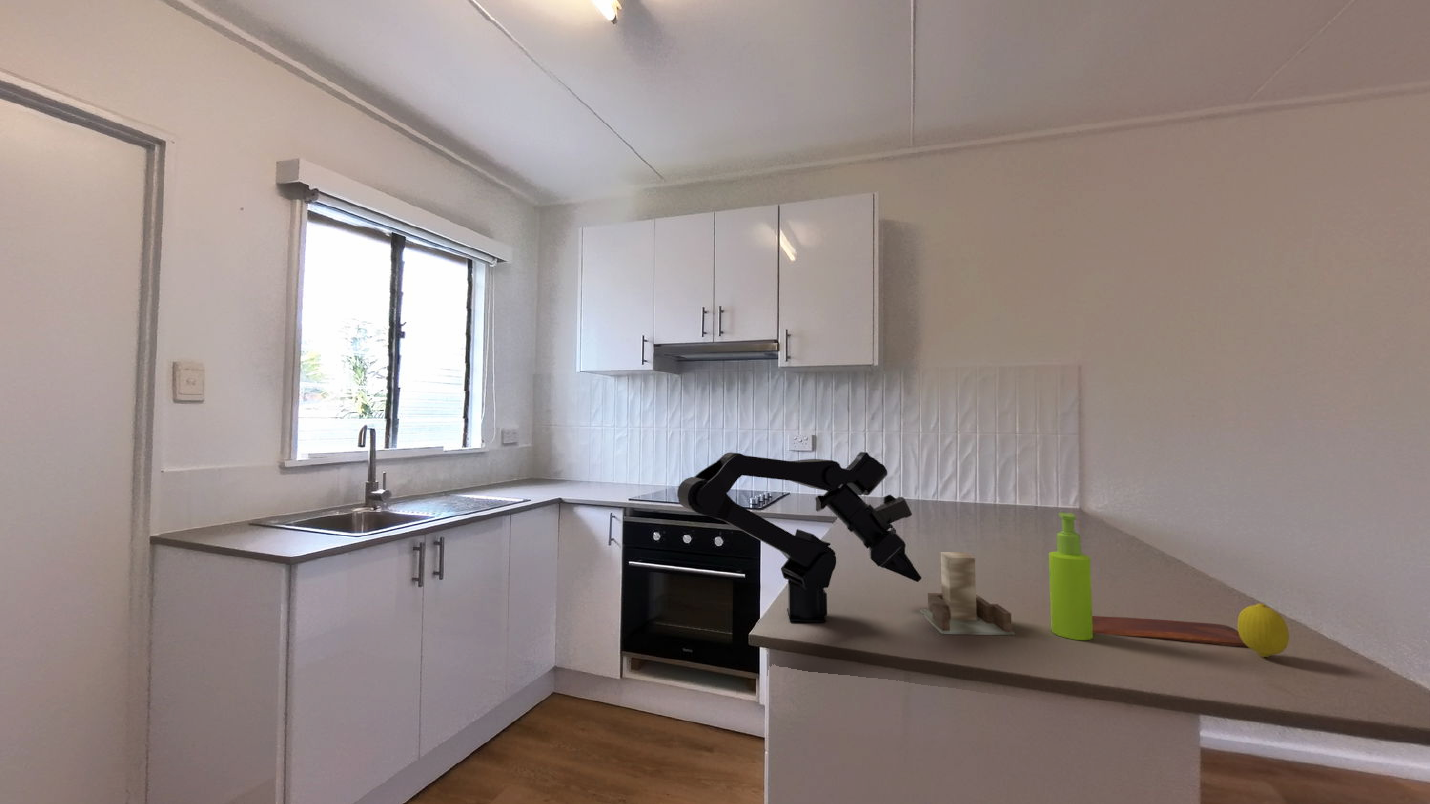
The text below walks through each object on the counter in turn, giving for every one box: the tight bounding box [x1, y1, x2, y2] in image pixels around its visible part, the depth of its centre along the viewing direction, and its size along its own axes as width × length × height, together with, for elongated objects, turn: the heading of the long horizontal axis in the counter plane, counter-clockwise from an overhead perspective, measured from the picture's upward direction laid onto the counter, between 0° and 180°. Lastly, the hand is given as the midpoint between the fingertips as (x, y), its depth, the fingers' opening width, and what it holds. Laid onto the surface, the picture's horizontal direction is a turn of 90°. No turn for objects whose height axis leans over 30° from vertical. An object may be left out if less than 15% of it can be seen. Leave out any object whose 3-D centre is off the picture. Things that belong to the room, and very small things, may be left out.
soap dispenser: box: [1048, 512, 1094, 641], centre depth 93 cm, size 6×7×20 cm
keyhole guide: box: [919, 592, 1016, 636], centre depth 98 cm, size 12×12×3 cm
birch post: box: [940, 551, 977, 620], centre depth 101 cm, size 4×4×11 cm
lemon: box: [1237, 602, 1290, 658], centre depth 83 cm, size 6×6×8 cm
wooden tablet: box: [1092, 615, 1249, 648], centre depth 94 cm, size 27×10×2 cm, turn 72°
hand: (915, 573), depth 102 cm, fingers open, 9 cm apart
